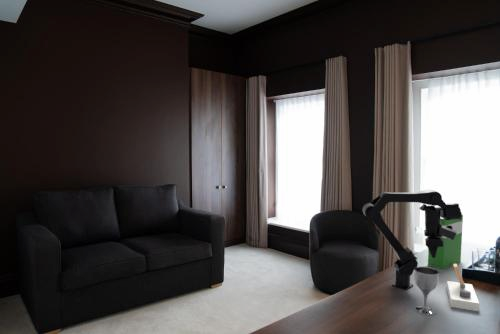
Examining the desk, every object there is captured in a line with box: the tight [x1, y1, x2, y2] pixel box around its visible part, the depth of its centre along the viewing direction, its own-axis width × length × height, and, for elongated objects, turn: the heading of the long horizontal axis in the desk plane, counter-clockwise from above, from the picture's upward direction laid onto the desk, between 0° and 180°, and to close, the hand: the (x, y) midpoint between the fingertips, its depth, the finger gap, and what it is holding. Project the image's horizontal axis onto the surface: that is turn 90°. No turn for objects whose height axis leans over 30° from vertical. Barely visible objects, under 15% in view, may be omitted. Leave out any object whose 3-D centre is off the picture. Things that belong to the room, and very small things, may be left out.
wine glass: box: [413, 266, 440, 316], centre depth 135 cm, size 8×8×15 cm
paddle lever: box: [453, 263, 465, 289], centre depth 150 cm, size 2×4×9 cm, turn 155°
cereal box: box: [427, 214, 464, 270], centre depth 186 cm, size 18×7×24 cm, turn 126°
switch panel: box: [446, 280, 480, 312], centre depth 146 cm, size 9×19×3 cm, turn 157°
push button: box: [460, 290, 471, 298], centre depth 141 cm, size 4×4×1 cm
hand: (433, 257), depth 156 cm, fingers closed
